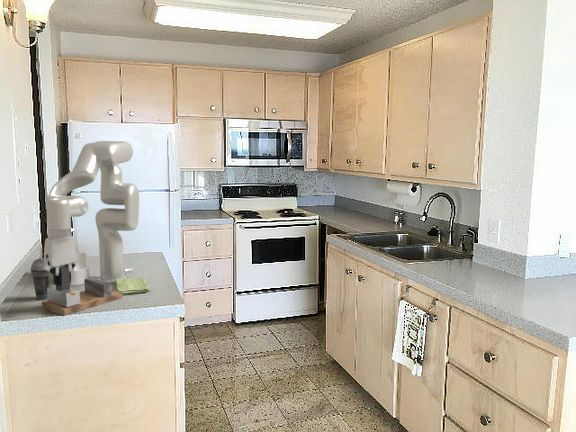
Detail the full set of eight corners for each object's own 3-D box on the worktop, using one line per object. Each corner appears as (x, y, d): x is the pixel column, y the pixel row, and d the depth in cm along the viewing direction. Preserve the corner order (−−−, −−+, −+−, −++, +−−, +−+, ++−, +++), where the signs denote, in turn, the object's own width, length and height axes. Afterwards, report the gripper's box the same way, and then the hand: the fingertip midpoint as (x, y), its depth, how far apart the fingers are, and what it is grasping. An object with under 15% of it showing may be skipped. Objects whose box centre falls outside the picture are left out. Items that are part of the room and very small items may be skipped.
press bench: (100, 291, 193) (99, 274, 192) (122, 297, 185) (122, 280, 184) (42, 307, 173) (41, 288, 172) (64, 315, 165) (63, 295, 164)
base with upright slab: (80, 285, 201) (79, 257, 199) (61, 283, 202) (60, 256, 201) (93, 279, 209) (92, 252, 208) (75, 278, 211) (73, 251, 209)
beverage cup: (48, 294, 188) (45, 244, 185) (57, 298, 184) (54, 247, 181) (29, 298, 183) (25, 247, 180) (37, 302, 178) (34, 250, 175)
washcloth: (116, 297, 187) (116, 289, 186) (113, 285, 203) (113, 278, 202) (151, 293, 192) (151, 286, 191) (145, 282, 208) (145, 275, 207)
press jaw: (60, 297, 177) (58, 263, 175) (82, 304, 170) (80, 268, 168) (47, 300, 173) (45, 265, 171) (69, 308, 166) (67, 271, 164)
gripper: (74, 229, 177) (77, 277, 180) (30, 235, 164) (34, 287, 166) (87, 231, 173) (89, 280, 176) (43, 238, 160) (46, 291, 162)
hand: (62, 283), depth 171 cm, fingers closed on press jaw, 3 cm apart
